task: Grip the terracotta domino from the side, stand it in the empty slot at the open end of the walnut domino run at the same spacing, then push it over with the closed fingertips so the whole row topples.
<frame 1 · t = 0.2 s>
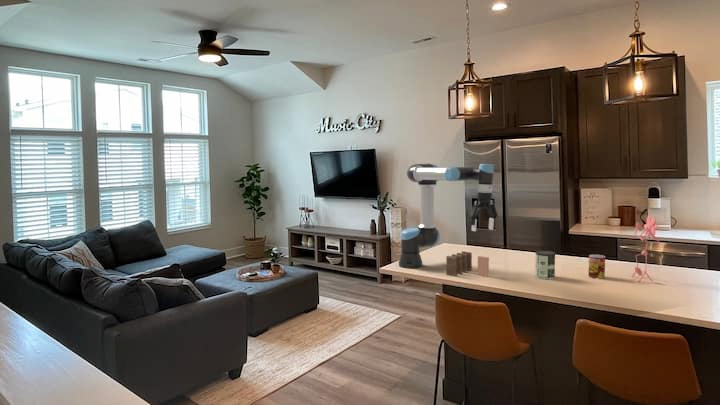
hand: (482, 230, 236), 27 cm above the table, tool pointing down, fingers open, 13 cm apart
canned food: (596, 277, 238), on the table
domino 1: (451, 275, 247), on the table
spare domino: (483, 275, 245), on the table
coffee can: (544, 277, 240), on the table
domino 3: (461, 271, 255), on the table
domino 4: (466, 270, 259), on the table
domino 2: (456, 273, 251), on the table
figurine: (649, 280, 230), on the table
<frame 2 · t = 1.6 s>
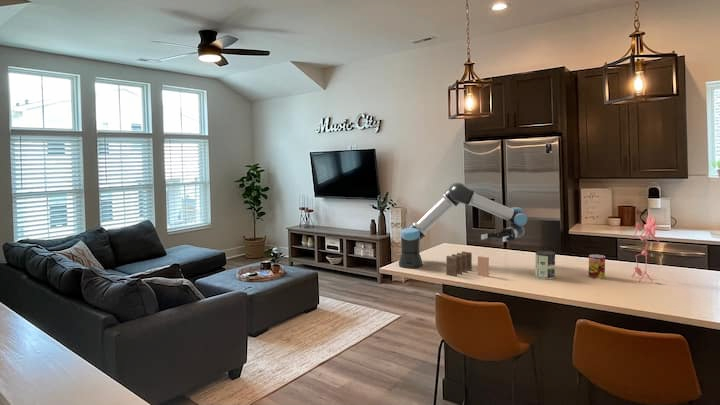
hand: (492, 238, 251), 20 cm above the table, tool horizontal, fingers open, 13 cm apart
nothing on the table moved.
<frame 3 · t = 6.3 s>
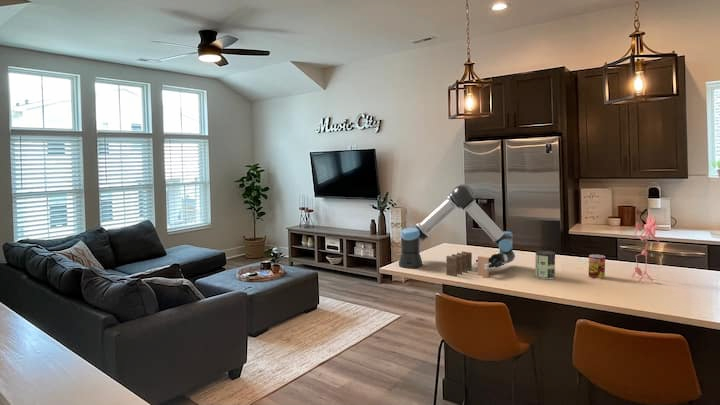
hand: (479, 266, 242), 6 cm above the table, tool horizontal, fingers closed on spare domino, 6 cm apart
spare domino: (483, 275, 245), on the table, touching gripper
everything else where it was.
when the fingers open (7 cm above the table, at t = 13.6 s): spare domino stays where it is, on the table.
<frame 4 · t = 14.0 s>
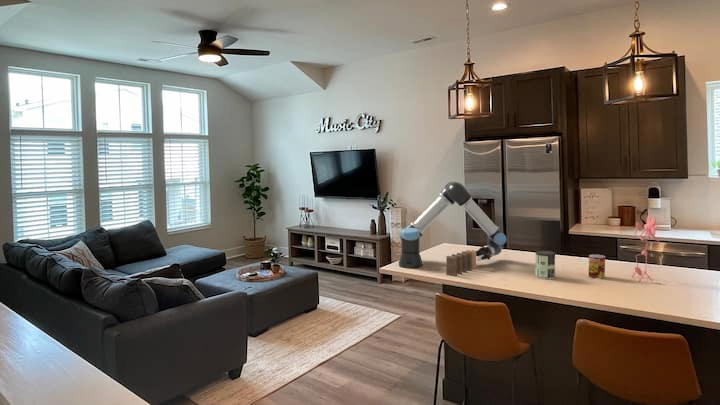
hand: (468, 257, 260), 7 cm above the table, tool horizontal, fingers open, 11 cm apart
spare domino: (471, 268, 263), on the table
everything else where it was.
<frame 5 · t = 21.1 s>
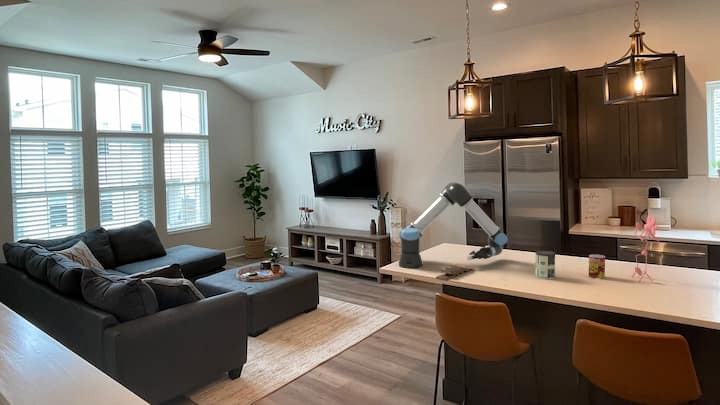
hand: (468, 258, 260), 7 cm above the table, tool horizontal, fingers closed
domino 1: (450, 275, 246), on the table, tilted 90°, touching domino 2
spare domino: (469, 267, 261), point 1 cm above the table, tilted 74°, touching domino 4
domino 3: (458, 271, 253), point 1 cm above the table, tilted 74°, touching domino 2, domino 4
domino 4: (465, 269, 257), point 1 cm above the table, tilted 74°, touching domino 3, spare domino
domino 2: (454, 273, 249), point 1 cm above the table, tilted 75°, touching domino 1, domino 3
everything else where it was.
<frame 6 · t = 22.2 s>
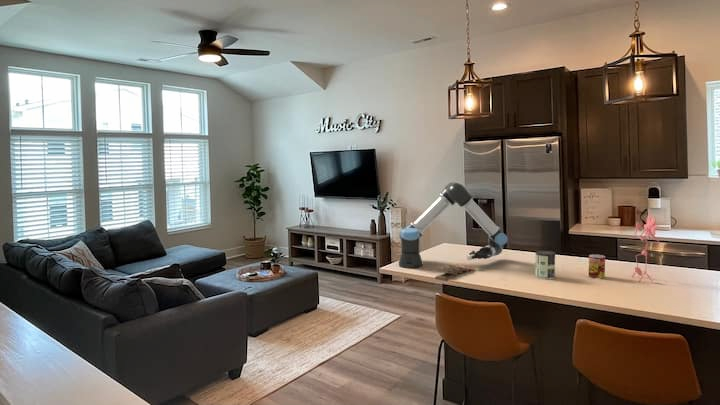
hand: (468, 258, 260), 7 cm above the table, tool horizontal, fingers closed
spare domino: (470, 267, 261), point 1 cm above the table, tilted 74°
domino 4: (464, 269, 257), point 1 cm above the table, tilted 74°, touching domino 3
domino 2: (453, 273, 249), point 1 cm above the table, tilted 72°, touching domino 1, domino 3
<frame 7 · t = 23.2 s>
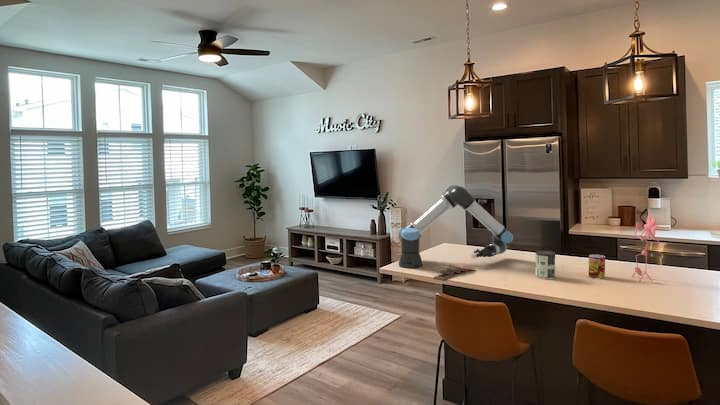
hand: (472, 256, 263), 7 cm above the table, tool horizontal, fingers closed
domino 1: (449, 275, 246), on the table, tilted 90°
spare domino: (470, 268, 260), point 1 cm above the table, tilted 74°, touching domino 4
domino 4: (464, 269, 257), point 1 cm above the table, tilted 74°, touching domino 3, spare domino
domino 2: (450, 272, 249), point 1 cm above the table, tilted 78°, touching domino 3
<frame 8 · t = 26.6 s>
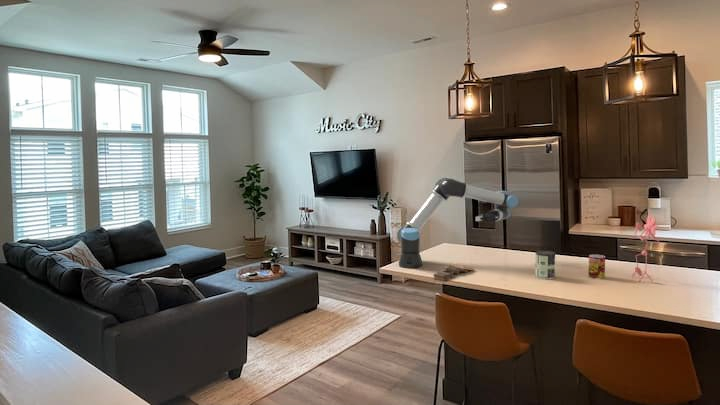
hand: (476, 219, 265), 30 cm above the table, tool horizontal, fingers closed
domino 1: (448, 276, 244), on the table, tilted 90°, touching domino 2
domino 3: (455, 271, 252), point 1 cm above the table, tilted 71°, touching domino 2, domino 4
domino 2: (449, 272, 246), point 2 cm above the table, tilted 90°, touching domino 1, domino 3
at the end: domino 1 tilted 90°; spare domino 3.5 cm from the target spot, point 0.7 cm above the table; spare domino tilted 75° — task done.
